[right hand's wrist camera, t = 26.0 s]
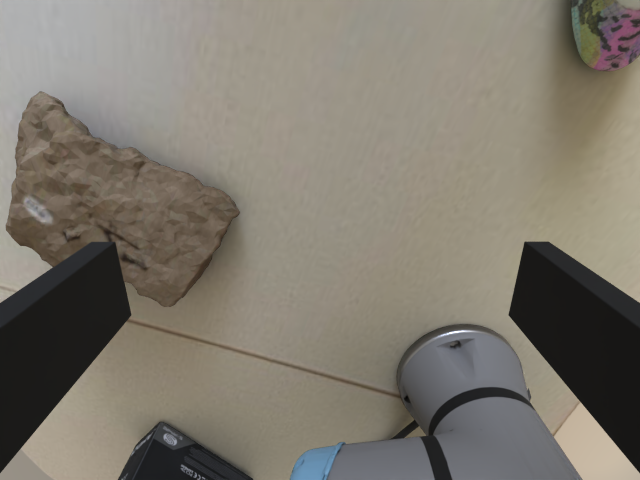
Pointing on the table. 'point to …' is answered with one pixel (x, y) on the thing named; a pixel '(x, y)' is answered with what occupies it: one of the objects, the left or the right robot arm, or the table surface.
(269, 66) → the table surface
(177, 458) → the graphics card box
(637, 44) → the ballet flat
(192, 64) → the table surface
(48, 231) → the stone
